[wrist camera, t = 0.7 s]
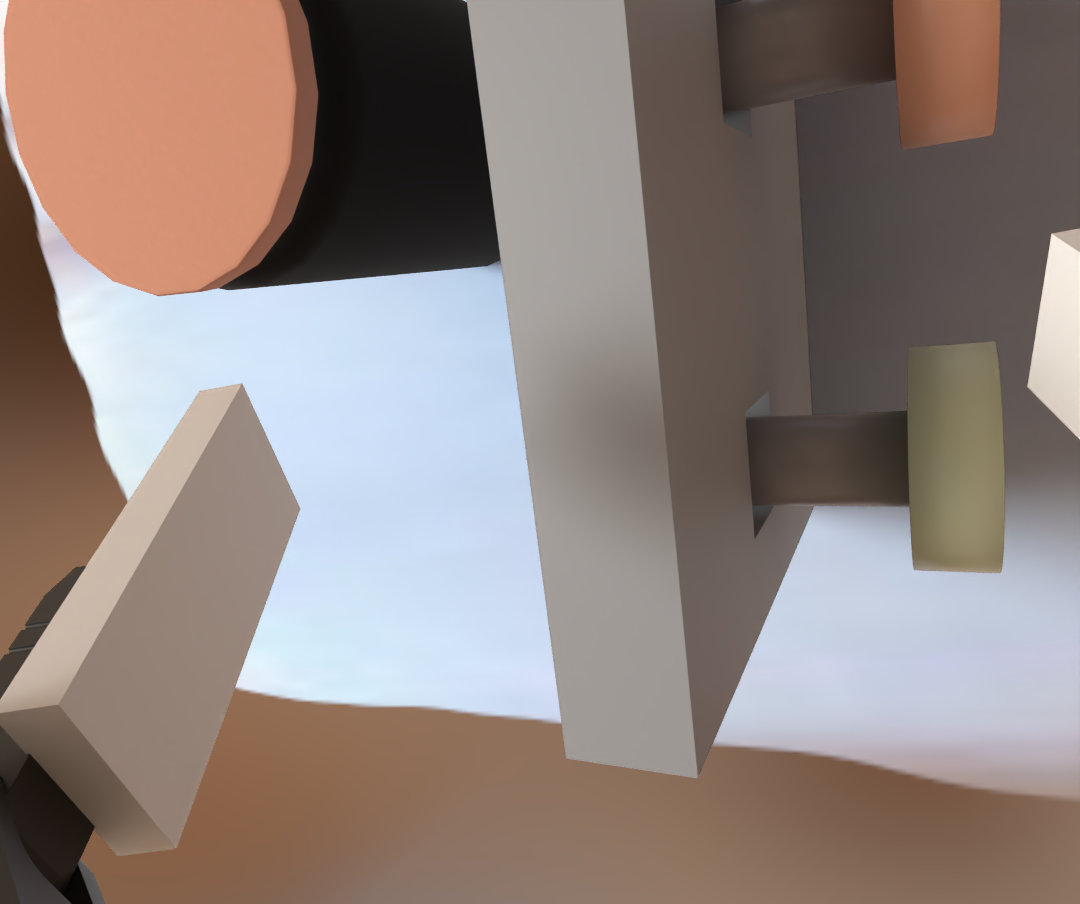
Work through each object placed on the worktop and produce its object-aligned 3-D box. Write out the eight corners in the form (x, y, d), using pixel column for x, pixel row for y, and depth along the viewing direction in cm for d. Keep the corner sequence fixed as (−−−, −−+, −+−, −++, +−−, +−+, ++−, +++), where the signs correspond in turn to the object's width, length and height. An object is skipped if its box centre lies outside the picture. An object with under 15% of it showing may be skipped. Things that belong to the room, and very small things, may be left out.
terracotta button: (681, 194, 26) (618, 187, 21) (664, -11, 25) (592, -74, 20) (985, 145, 23) (1001, 121, 17) (983, -99, 21) (998, -205, 16)
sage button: (710, 524, 29) (659, 592, 23) (695, 351, 27) (638, 381, 22) (990, 529, 25) (1005, 610, 20) (988, 329, 24) (1003, 359, 18)
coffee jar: (349, 68, 39) (-47, -37, 23) (547, -24, 34) (217, -236, 18) (408, 291, 41) (75, 334, 25) (606, 233, 36) (347, 240, 20)
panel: (745, 499, 36) (566, 758, 19) (707, 2, 32) (431, -269, 14) (817, 499, 35) (697, 778, 17) (787, -19, 31) (591, -345, 13)
